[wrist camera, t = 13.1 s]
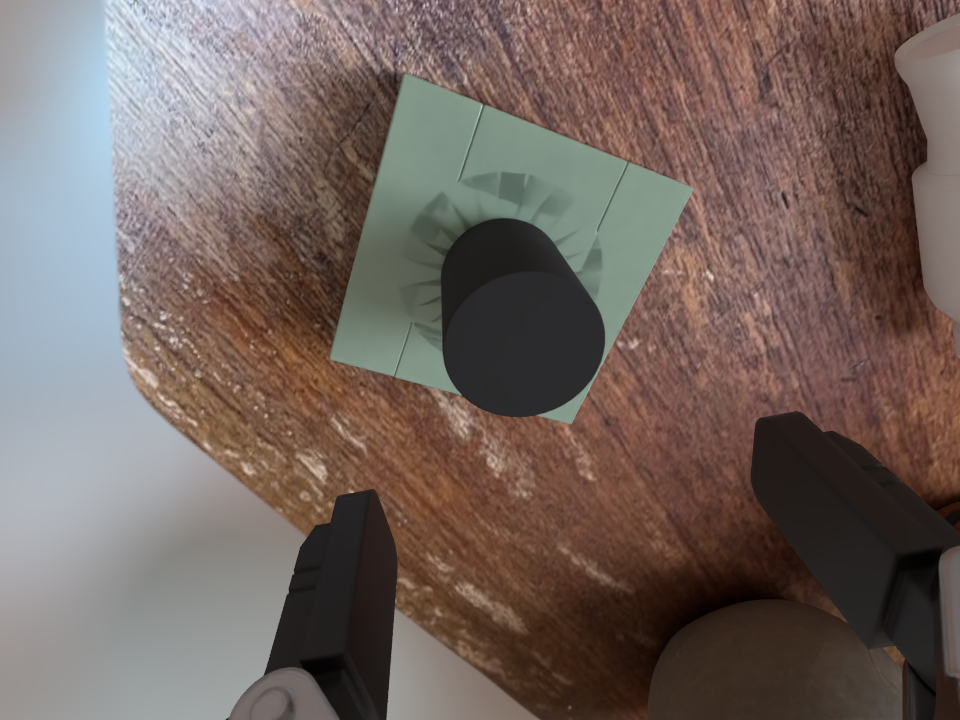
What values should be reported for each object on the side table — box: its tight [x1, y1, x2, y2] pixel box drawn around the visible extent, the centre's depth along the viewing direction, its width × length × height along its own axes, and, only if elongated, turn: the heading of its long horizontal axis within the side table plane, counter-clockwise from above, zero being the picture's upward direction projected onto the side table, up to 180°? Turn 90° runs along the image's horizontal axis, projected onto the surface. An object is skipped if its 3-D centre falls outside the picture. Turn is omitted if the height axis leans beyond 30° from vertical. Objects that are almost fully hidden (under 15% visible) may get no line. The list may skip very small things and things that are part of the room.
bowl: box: [648, 599, 902, 720], centre depth 37 cm, size 17×18×10 cm
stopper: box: [441, 218, 605, 417], centre depth 21 cm, size 5×5×9 cm
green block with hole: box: [329, 73, 693, 424], centre depth 24 cm, size 12×12×3 cm
